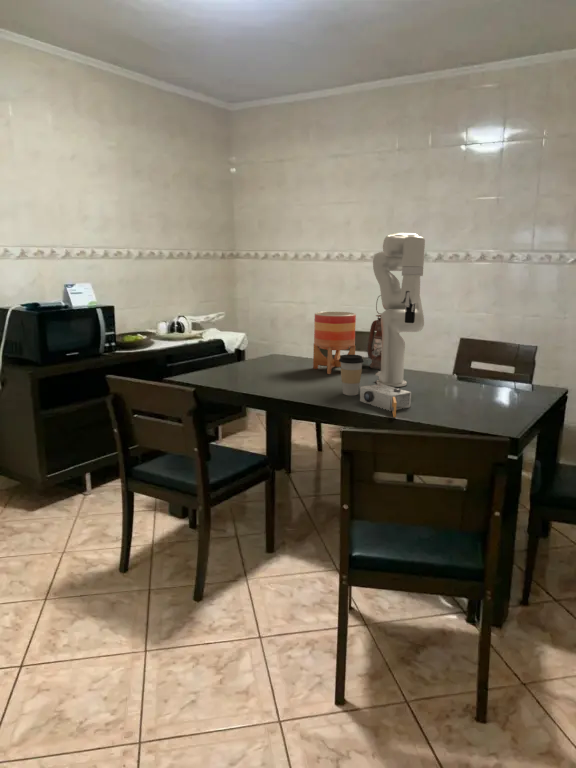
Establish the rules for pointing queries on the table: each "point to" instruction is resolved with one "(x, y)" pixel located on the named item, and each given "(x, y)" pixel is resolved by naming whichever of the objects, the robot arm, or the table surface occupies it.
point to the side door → (394, 406)
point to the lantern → (376, 327)
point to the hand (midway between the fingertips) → (409, 322)
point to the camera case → (385, 396)
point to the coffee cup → (351, 373)
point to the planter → (333, 337)
